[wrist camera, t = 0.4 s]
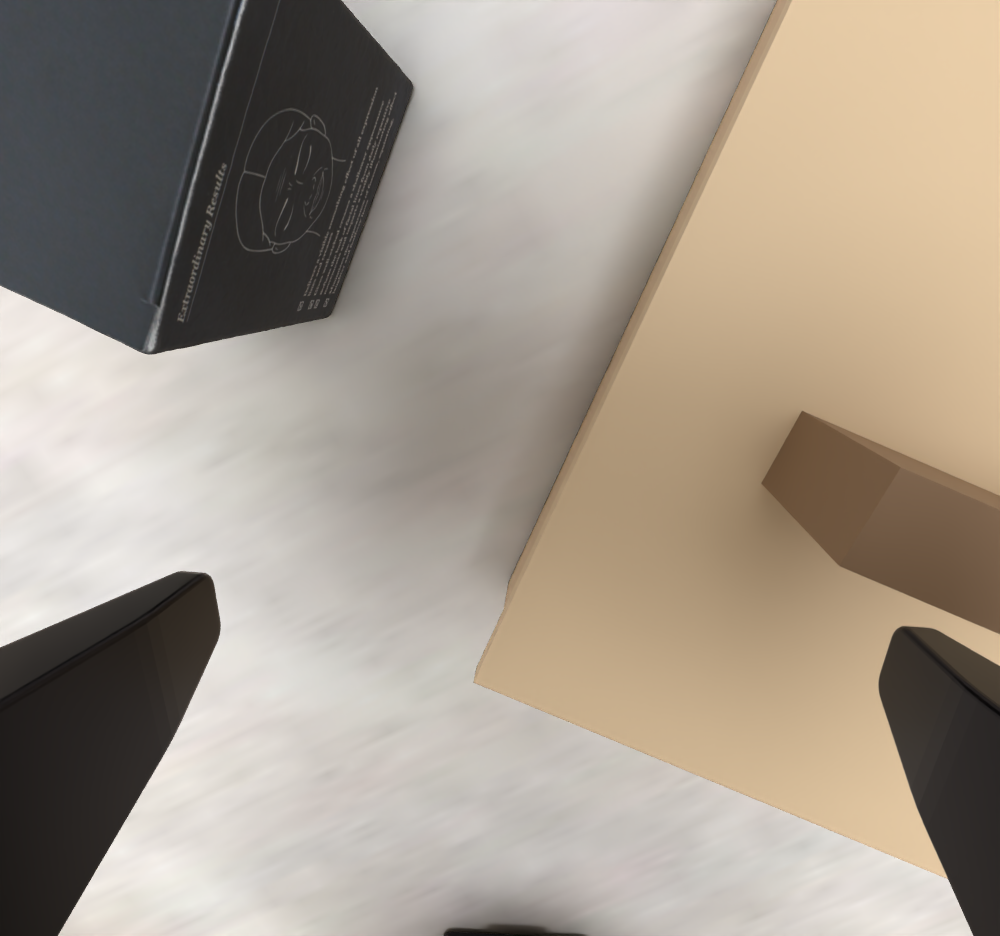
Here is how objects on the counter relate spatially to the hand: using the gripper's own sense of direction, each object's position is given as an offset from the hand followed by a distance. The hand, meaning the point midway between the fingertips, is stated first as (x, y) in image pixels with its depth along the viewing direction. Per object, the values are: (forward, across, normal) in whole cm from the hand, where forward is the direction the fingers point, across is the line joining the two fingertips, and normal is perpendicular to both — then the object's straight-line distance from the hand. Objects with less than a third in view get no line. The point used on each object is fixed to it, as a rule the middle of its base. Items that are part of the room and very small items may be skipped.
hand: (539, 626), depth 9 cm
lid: (+9, -10, +1) cm, 14 cm away
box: (+16, +9, -5) cm, 19 cm away
